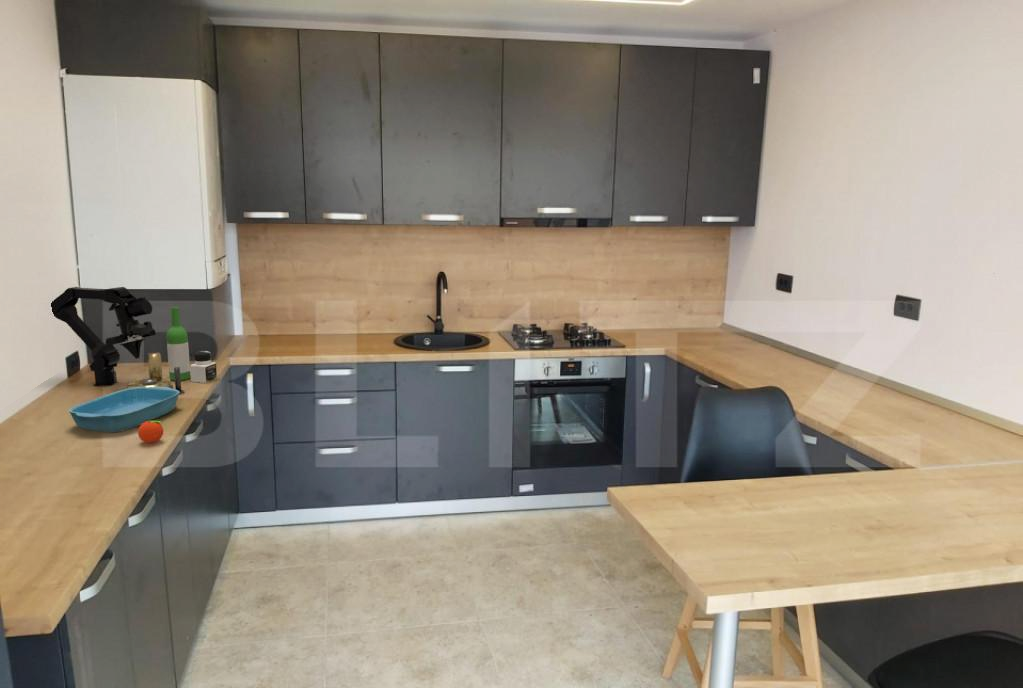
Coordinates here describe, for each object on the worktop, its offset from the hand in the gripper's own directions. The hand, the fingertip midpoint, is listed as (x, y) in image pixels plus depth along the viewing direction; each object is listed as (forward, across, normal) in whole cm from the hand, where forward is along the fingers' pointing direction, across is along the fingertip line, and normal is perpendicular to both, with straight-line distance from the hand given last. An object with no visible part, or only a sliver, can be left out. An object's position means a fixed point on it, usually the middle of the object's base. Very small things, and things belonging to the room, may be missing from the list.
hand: (137, 358), depth 266 cm
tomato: (+25, -44, -47) cm, 69 cm away
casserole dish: (+18, -30, -23) cm, 42 cm away
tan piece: (+11, -7, -10) cm, 17 cm away
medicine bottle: (+15, +18, -11) cm, 26 cm away
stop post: (+16, 0, -16) cm, 22 cm away
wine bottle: (+13, +16, -1) cm, 20 cm away
